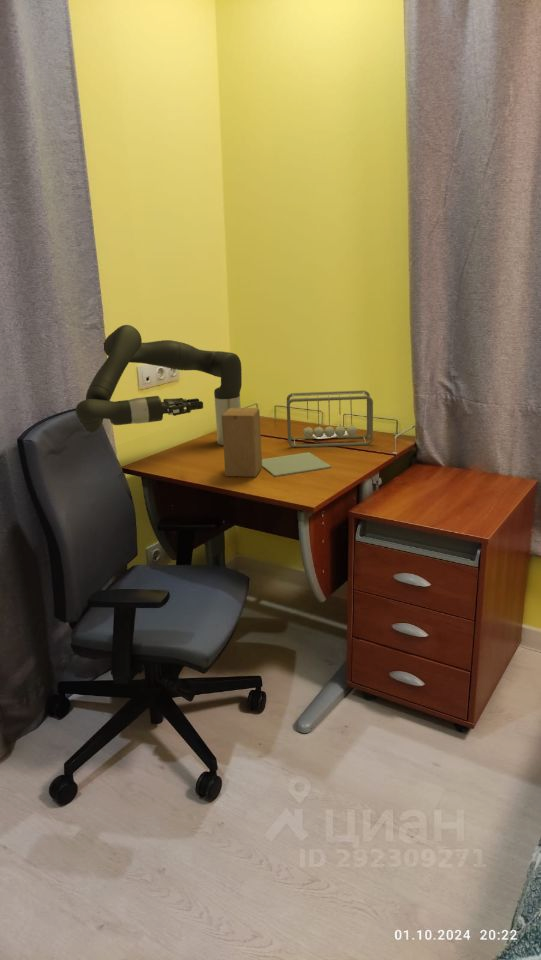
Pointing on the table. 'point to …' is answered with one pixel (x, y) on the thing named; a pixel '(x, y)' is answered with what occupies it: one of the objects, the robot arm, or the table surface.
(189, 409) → the robot arm
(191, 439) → the table surface
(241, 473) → the wooden block
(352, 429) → the newton's cradle
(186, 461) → the table surface
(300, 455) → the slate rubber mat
